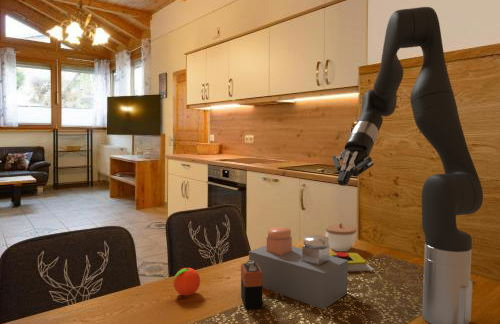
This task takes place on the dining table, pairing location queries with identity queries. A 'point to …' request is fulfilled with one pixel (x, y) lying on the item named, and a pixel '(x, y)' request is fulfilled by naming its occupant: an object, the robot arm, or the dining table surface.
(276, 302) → the dining table surface
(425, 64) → the robot arm
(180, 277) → the clementine
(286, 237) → the orange canister
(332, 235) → the lidded jar
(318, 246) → the silver jar
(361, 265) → the emergency button
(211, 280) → the dining table surface
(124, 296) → the dining table surface
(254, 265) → the battery
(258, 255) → the console
